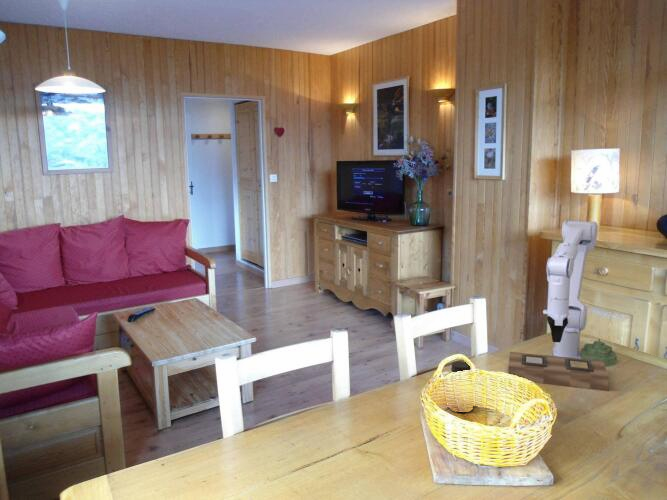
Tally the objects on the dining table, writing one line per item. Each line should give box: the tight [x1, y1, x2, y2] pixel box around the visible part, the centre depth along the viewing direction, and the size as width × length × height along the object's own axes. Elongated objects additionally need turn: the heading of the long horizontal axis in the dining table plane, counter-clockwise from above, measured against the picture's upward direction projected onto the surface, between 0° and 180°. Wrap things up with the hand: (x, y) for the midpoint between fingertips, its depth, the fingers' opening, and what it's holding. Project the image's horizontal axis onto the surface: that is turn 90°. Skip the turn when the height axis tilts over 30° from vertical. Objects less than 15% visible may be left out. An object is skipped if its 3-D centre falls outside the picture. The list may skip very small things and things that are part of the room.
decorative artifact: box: [580, 338, 618, 368], centre depth 164 cm, size 10×7×10 cm
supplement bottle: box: [450, 360, 472, 372], centre depth 136 cm, size 7×7×12 cm
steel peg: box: [526, 356, 542, 364], centre depth 155 cm, size 4×4×4 cm
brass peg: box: [569, 361, 588, 369], centre depth 151 cm, size 4×4×4 cm
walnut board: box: [507, 351, 610, 392], centre depth 153 cm, size 12×26×4 cm, turn 70°
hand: (556, 341), depth 155 cm, fingers closed
